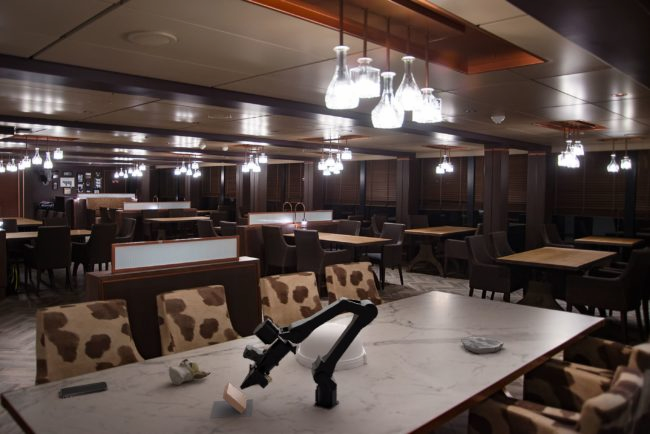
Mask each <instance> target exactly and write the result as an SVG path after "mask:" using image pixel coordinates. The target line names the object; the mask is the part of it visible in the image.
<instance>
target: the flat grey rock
mask: <svg viewBox="0 0 650 434" xmlns="http://www.w3.org/2000/svg"><path fill="white" fill-rule="evenodd" d="M460 342H461V343H462V345H463V346H464V348H465V350H467V351H469V352H471V353H474V354H479V355H481V354H490V353H495V352H497V351H499V350H501V349H502V348H503V346H504V341H502V340H498V339H495V338H489V337H481V336H468V337H467V338H466V337H465V338H461V339H460Z"/></svg>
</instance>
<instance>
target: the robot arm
mask: <svg viewBox="0 0 650 434" xmlns="http://www.w3.org/2000/svg"><path fill="white" fill-rule="evenodd" d="M344 312H348V313H351V314H353V315H352V319H351V320H350V322H349V323H348V325H346V326H347V328H346V329H345V330H344V332H343V333H342V334H341V336H340V337H339V338H338V340H337V341H336V342H335V344H334V345H333V346H332V348H331V349H330V351H329V352H328V353H327V354H326V355H325V356H323V357H321V356H320V355H318V357H317V359H316V361H315V362H313V363H312V368H310V369H311V370H310V371H311V376H312V380H313V381H314V383H315V384H316V385H315V386H316V387H315V390H314V391H315V392H314V403H313V406H315V407H318V408H319V407H320V408H324V409H328V410H331V409H333V408H334V407H335V406H337V405H338V404H339V403H340V401H339V400H338V390H337V389H338V384H337V382H336V379H335V377H334V373H335V371H336V370H335V367H336V364H337V362H338V361H339V359H340V358H341V357H342V355H343V354H344V353H345V351H346V350H347V349H348V347H349V346H350V344H351V343H352V342H353V340H354V339H355V338H356V336H357V335H358V334H360V332H361V331H362V330H363V329H364V328H366V327H367V326H369V325H371V323H372V322H374V320H375V319H376V318H377V317H378V314H379V309H378V307H377V305H375V304H374V302H372V301H371V300H370V299H362V300H359V299H354V298H348V297H345V296H342V297H341V296H340V297H339V298H337V300H335V301H334V302H332V303H331V304H328V305H327V306H326V307H323V308H322V309H320V310H319V311H317V312H316V313H314V314H312V315H311V316H309V317H306V318H302V319H299V320H296V321H294V322H291V323H290V324H289V325H286V326H285V325H284V326H279V327H277V325H276V324H274V323H273V322H272V320H271V319H270V318H266V320H264V321H262V322H261V323H259V324H258V325H257V326H256V327H255V328H254V330H253V331H252V334H254V335H255V337H256V338H257V339H258V340H260V342H261V343H262V344H264V345H265V346H266V345H267V346H269V347H268V348H267V347H266V348H263V350H261V349H259V348H257V347H254V346H252V345H251V344H246V346H245V348H244V350H243V352H242V358H243V359H246V360H250V361H252V362H253V363H252V364H251V363H249V367H248V373H247V374H246V377H245V378H244V380H243V381H242V383H241V384H240V386H239V389H240V390H242V391H243V390H245V389H247V388H250V387H254V386H256V385H258V386H259V387H261V388H262V390H263V389H265V388H266V387H267V386H268V385H269V382H268V376H270V375H271V371H272V370H273V369H274V368H275V367H278V366H279V365H280V362H281V361H282V360H283V359H284V358H285V357H286V356H287V355H288V354H289V353H290V352H291V353H292V354H293V355H294V356H295V355H296V356H297V349H298V347H297V345H300V344H301V342H303V341H304V340H305V339H306V338H307V337H308V336H309V335H310V334H311V333H312V332H313V331H314V330H315V329H316V328H318V327H319V326H321V325H323V324H327V323H328V322H329V321H331V320H333V319H334V318H336V317H338V316H339V315H341V314H342V313H344Z"/></svg>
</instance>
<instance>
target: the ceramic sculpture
mask: <svg viewBox="0 0 650 434" xmlns="http://www.w3.org/2000/svg"><path fill="white" fill-rule="evenodd" d="M168 368H169V370H168V374H169V379H170V381H171V383H172V384H173V385H175V386H179V385H181V384H182V383H183V382H191V381H194V380H202V379H204V378H206V377H209V375H211V372H207V371H203V370H202V371H201V370H200V368H199V365H198V363H197V362H195V361H193V360H188V358H184V359H182V360H181V361H180V363H179V365H178V366H169V367H168Z"/></svg>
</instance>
